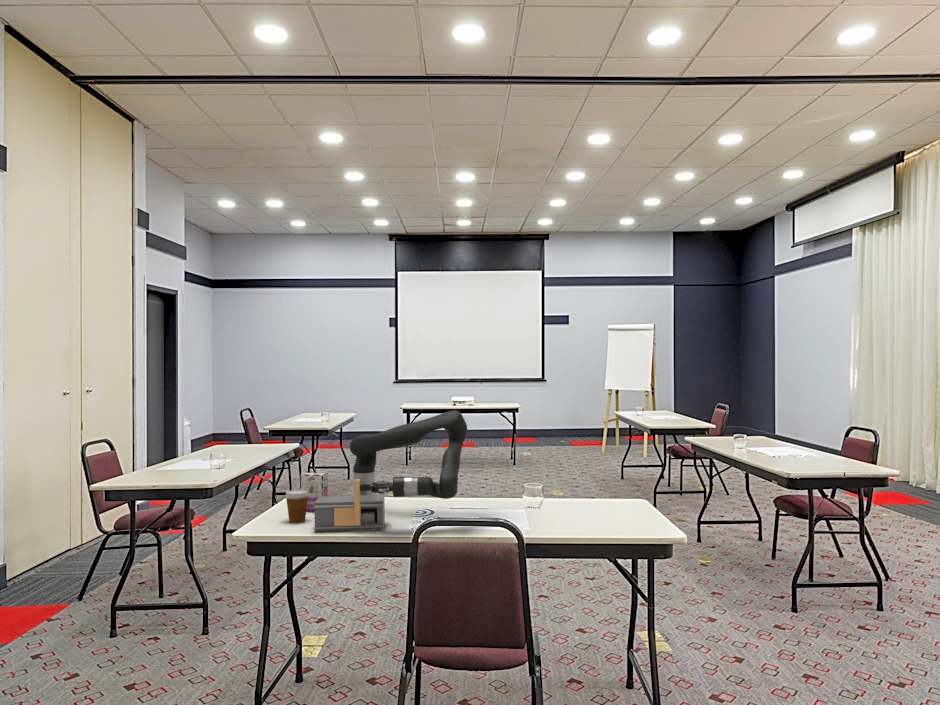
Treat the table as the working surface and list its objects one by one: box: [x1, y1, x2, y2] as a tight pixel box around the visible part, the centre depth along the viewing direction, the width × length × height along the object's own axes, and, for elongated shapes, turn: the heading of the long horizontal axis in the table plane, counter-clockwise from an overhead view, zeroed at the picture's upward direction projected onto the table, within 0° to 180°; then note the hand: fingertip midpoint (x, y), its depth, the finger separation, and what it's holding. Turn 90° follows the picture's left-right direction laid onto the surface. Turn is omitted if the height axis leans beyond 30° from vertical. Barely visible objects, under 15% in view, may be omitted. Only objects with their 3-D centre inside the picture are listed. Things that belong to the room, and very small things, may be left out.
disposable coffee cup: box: [285, 489, 309, 524], centre depth 269 cm, size 10×10×12 cm
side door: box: [334, 479, 361, 526], centre depth 250 cm, size 4×10×18 cm, turn 94°
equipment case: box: [313, 494, 386, 532], centre depth 257 cm, size 14×26×11 cm, turn 94°
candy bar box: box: [300, 472, 329, 513], centre depth 287 cm, size 11×5×16 cm, turn 73°
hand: (359, 487), depth 250 cm, fingers closed
